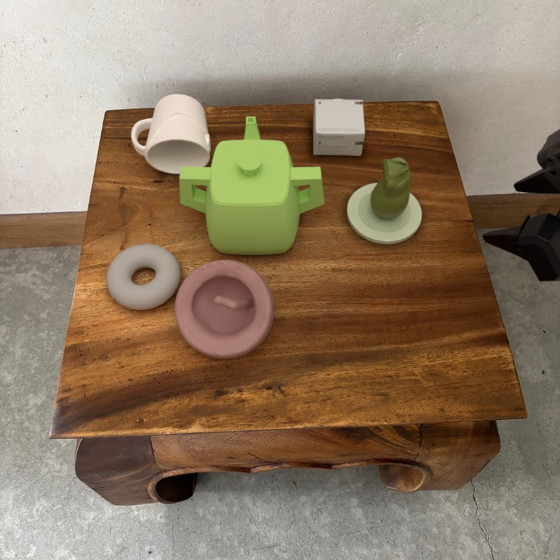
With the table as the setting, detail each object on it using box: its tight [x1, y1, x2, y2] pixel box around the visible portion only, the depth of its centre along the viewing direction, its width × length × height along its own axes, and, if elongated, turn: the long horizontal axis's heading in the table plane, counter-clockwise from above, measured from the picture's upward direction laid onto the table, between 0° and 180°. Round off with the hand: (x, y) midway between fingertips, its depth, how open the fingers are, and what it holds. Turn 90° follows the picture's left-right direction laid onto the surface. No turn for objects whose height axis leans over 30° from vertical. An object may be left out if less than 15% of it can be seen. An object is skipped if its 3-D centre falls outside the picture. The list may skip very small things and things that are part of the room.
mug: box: [130, 93, 212, 175], centre depth 85 cm, size 12×9×8 cm
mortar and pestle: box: [174, 259, 276, 360], centre depth 67 cm, size 12×12×11 cm
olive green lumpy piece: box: [370, 156, 412, 219], centre depth 76 cm, size 6×5×10 cm
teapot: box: [178, 116, 325, 256], centre depth 76 cm, size 18×20×13 cm
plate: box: [346, 182, 423, 245], centre depth 81 cm, size 11×11×1 cm
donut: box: [105, 243, 182, 311], centre depth 74 cm, size 10×4×10 cm
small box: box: [312, 98, 366, 157], centre depth 87 cm, size 8×8×5 cm
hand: (500, 212), depth 65 cm, fingers open, 9 cm apart
